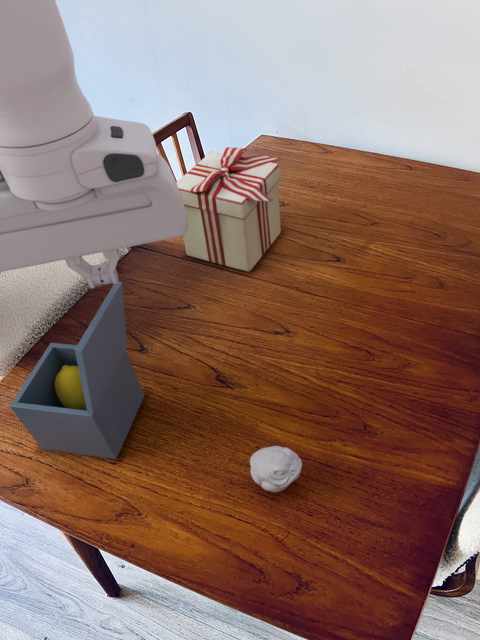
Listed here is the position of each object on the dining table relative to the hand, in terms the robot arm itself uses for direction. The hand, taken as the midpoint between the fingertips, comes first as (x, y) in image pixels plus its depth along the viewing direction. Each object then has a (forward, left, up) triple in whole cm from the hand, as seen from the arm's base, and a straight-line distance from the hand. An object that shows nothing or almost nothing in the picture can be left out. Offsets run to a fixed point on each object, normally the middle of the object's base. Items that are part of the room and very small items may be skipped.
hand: (104, 282), depth 55 cm
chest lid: (-4, 0, -11) cm, 11 cm away
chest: (-11, 0, -27) cm, 29 cm away
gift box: (+1, +46, -28) cm, 54 cm away
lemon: (-11, 0, -26) cm, 28 cm away
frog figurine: (+18, -6, -28) cm, 34 cm away
